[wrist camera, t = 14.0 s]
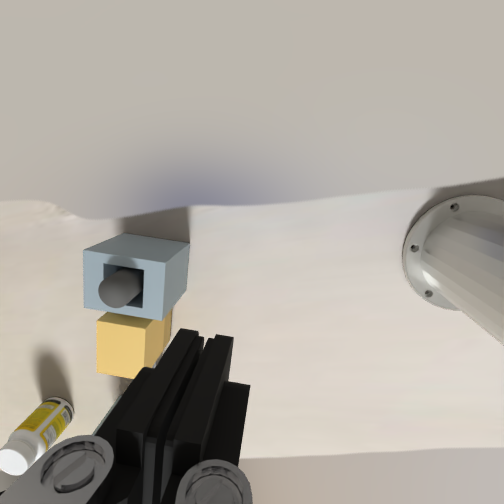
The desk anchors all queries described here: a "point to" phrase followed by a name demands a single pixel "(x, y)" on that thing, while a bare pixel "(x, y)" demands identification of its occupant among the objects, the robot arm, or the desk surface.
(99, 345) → the block
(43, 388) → the desk surface
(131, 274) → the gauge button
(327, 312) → the desk surface
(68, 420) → the supplement bottle
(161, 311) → the frame
